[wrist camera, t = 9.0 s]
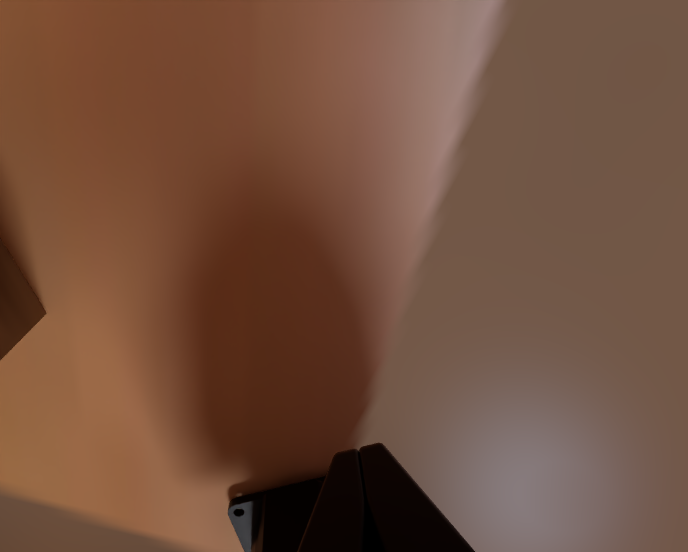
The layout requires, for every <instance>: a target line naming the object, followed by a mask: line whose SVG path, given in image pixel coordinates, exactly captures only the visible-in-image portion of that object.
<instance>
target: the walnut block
mask: <svg viewBox="0 0 688 552" xmlns="http://www.w3.org/2000/svg"><path fill="white" fill-rule="evenodd" d="M45 314H46V312H45V310H44V309H43V307H42V305H41V304H40V302H39V301H38V299H37V297H36V296H35V294H34V292H33V291H32V289H31V287H30V286H29V284H28V283H27V281H26V279H25V278H24V276H23V274H22V273H21V271H20V269H19V268H18V266H17V264H16V263H15V261H14V260H13V258H12V256H11V255H10V253H9V251H8V250H7V248H6V246H5V245H4V243H3V242H2V240H1V238H0V360H1V359H2V358H3V357H4V356H5V355H6V354H7V353H8V352H9V351H10V350H11V349H12V348H13V347H14V346H15V345H16V344H17V343H18V342H19V341H20V340H21V339H22V338H23V337H24V336H25V335H26V334H27V333H28V332H29V331H30V330H31V329H32V328H33V327H34V326H35V325H36V324H37V323H38V322H39V321H40V320H41V319H42V318H43V317H44V315H45Z"/></svg>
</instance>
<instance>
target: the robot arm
mask: <svg viewBox="0 0 688 552" xmlns="http://www.w3.org/2000/svg"><path fill="white" fill-rule="evenodd" d="M238 509H239V510H238ZM228 516H229V518H230V520H231V522H232V525H233V527H234V529H235V531H236V534H237V536H238V538H239V540H240V543H241V545H242V547H243V549H244V551H245V552H475V551H474V550H473V549H472V547H471V546H470V545H469V544H468V543H467V542H466V540H465V539H464V538H463V537H462V536H461V535H460V533H459V532H458V531H457V530H456V529H455V528H454V526H453V525H452V524H451V523H450V522H449V520H448V519H447V518H446V517H445V516H444V515H443V514H442V513H441V511H440V510H439V509H438V508H437V507H436V505H435V504H434V503H433V502H432V501H431V500H430V498H429V497H428V496H427V495H426V494H425V492H424V491H423V490H422V489H421V488H420V487H419V486H418V484H417V483H416V482H415V481H414V480H413V479H412V477H411V476H410V475H409V474H408V473H407V471H406V470H405V469H404V468H403V467H402V466H401V464H400V463H399V462H398V461H397V460H396V459H395V457H394V456H393V455H392V454H391V453H390V452H389V450H388V449H387V448H386V447H385V446H384V445H383V444H382V443H376V444H372V445H367V446H363V447H361V448H360V450H359V451H358V450H357V449H351V450H347V451H342V452H338V453H336V454H335V455H334V457H333V460H332V462H331V465H330V468H329V470H328V473H327V475H326V476H325V477H320V478H316V479H312V480H308V481H304V482H300V483H296V484H292V485H287V486H283V487H279V488H275V489H271V490H267V491H263V492H259V493H254V494H250V495H246V496H242V497H238V498H235V499H233V500H232V501H231V502H230V503H229V508H228Z"/></svg>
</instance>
